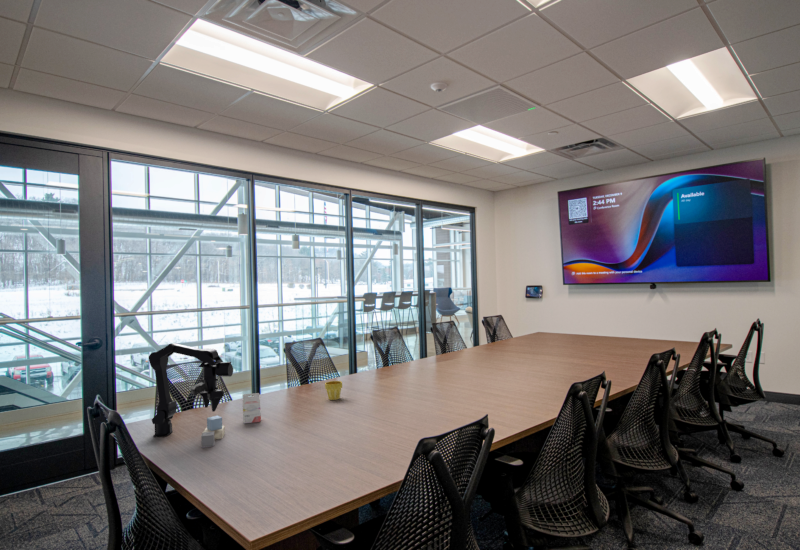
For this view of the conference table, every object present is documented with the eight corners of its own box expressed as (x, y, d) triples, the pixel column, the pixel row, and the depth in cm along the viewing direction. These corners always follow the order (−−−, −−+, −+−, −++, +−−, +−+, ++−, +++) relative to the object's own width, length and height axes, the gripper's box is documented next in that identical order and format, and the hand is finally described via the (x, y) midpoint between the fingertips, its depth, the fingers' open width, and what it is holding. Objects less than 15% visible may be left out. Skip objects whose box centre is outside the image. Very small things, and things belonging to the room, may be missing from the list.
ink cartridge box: (261, 419, 233) (260, 390, 233) (260, 421, 228) (260, 392, 228) (243, 420, 230) (243, 392, 231) (243, 423, 226) (242, 394, 226)
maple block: (203, 441, 202) (203, 432, 202) (206, 435, 210) (206, 426, 210) (222, 439, 204) (221, 430, 204) (224, 433, 212) (224, 425, 212)
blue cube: (211, 431, 204) (211, 420, 204) (207, 428, 208) (206, 417, 208) (222, 428, 208) (222, 417, 208) (217, 426, 211) (217, 415, 211)
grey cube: (201, 448, 193) (201, 436, 193) (202, 444, 198) (202, 432, 198) (213, 446, 195) (213, 434, 195) (214, 442, 200) (214, 431, 200)
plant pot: (323, 398, 272) (323, 381, 273) (339, 395, 277) (339, 379, 277) (328, 401, 263) (327, 385, 263) (344, 399, 267) (344, 383, 268)
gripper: (185, 376, 212) (185, 408, 212) (199, 382, 199) (199, 417, 199) (209, 372, 220) (209, 404, 220) (224, 378, 206) (224, 412, 206)
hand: (209, 409), depth 211 cm, fingers open, 9 cm apart
